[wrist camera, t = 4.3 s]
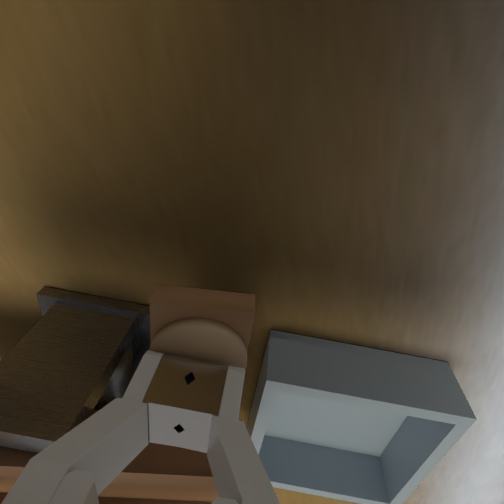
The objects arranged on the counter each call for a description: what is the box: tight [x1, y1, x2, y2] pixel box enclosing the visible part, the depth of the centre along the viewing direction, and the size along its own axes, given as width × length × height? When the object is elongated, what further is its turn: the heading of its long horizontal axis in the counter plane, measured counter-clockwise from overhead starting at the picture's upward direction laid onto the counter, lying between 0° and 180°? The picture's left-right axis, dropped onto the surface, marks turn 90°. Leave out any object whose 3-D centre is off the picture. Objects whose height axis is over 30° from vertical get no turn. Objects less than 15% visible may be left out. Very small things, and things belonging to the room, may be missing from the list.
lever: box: [0, 284, 256, 504], centre depth 12 cm, size 13×16×3 cm
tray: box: [246, 330, 476, 504], centre depth 18 cm, size 9×9×3 cm
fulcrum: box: [0, 286, 151, 453], centre depth 16 cm, size 9×6×7 cm, turn 171°
